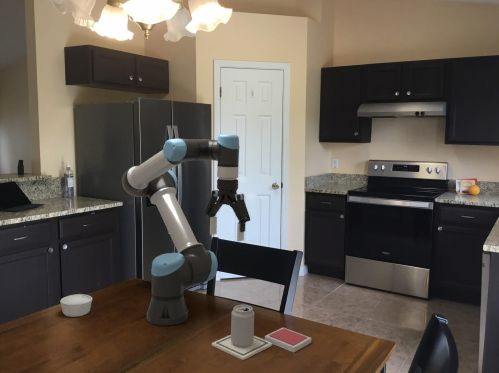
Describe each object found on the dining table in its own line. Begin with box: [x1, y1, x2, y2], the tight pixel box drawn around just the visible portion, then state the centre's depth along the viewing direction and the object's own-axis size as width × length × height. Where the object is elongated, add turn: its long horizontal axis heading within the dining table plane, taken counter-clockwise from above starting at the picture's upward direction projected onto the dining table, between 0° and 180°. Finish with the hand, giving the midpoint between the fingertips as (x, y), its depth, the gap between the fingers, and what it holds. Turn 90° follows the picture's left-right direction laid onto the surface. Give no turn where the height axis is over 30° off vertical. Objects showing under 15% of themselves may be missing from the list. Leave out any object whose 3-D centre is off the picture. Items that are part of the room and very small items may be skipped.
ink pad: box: [264, 327, 312, 353], centre depth 154 cm, size 12×10×2 cm
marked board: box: [211, 334, 273, 361], centre depth 150 cm, size 14×14×1 cm
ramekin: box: [59, 293, 93, 318], centre depth 174 cm, size 11×11×5 cm
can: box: [230, 304, 255, 347], centre depth 150 cm, size 8×8×12 cm
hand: (226, 237), depth 165 cm, fingers open, 13 cm apart
